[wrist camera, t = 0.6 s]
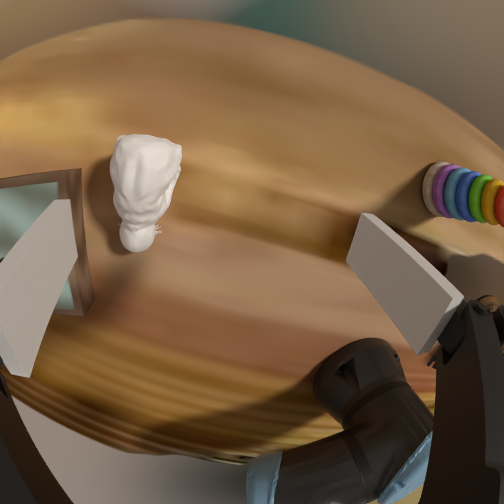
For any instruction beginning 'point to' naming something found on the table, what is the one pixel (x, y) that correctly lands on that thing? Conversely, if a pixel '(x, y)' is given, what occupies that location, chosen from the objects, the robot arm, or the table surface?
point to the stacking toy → (463, 194)
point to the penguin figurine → (143, 185)
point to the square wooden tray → (30, 208)
